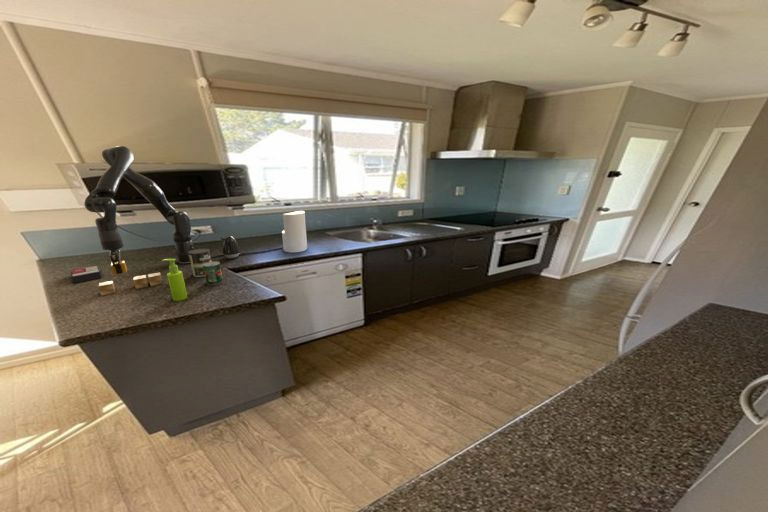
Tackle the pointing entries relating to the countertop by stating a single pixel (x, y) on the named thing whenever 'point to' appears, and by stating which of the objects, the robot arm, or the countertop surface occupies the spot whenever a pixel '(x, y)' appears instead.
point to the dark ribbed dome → (230, 247)
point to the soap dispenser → (176, 282)
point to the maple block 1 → (106, 288)
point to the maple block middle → (140, 281)
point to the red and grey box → (85, 274)
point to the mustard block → (121, 267)
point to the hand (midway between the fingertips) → (120, 271)
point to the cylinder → (294, 232)
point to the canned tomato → (213, 273)
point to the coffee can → (199, 261)
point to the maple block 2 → (155, 279)
